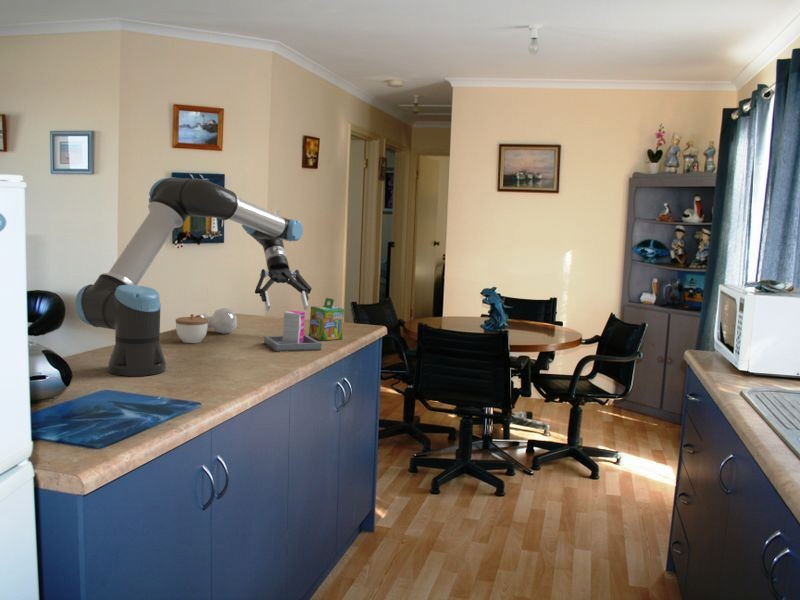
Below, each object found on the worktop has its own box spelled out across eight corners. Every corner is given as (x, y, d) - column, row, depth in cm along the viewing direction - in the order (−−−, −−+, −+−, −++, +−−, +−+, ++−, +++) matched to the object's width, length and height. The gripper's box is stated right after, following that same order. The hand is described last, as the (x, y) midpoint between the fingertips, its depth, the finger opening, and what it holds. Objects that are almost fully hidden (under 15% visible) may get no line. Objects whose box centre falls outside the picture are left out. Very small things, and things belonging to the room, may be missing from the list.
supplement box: (298, 347, 247) (299, 313, 246) (281, 345, 248) (282, 312, 247) (303, 344, 253) (305, 311, 251) (287, 342, 254) (288, 310, 252)
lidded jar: (169, 342, 246) (169, 315, 245) (185, 337, 256) (186, 311, 255) (197, 345, 244) (198, 317, 242) (213, 340, 254) (214, 313, 253)
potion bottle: (237, 338, 267) (198, 340, 269) (243, 320, 274) (205, 322, 276) (229, 320, 261) (190, 322, 263) (236, 302, 268) (197, 304, 270)
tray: (276, 351, 240) (277, 344, 240) (264, 343, 254) (264, 336, 253) (321, 350, 247) (321, 343, 247) (306, 341, 261) (306, 335, 260)
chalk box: (308, 337, 270) (309, 297, 268) (328, 335, 276) (330, 296, 274) (323, 341, 263) (324, 300, 261) (343, 339, 269) (345, 299, 267)
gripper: (244, 253, 258) (254, 301, 246) (312, 255, 269) (324, 301, 257) (240, 267, 263) (250, 314, 252) (307, 268, 274) (318, 313, 263)
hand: (287, 308), depth 255 cm, fingers open, 13 cm apart
